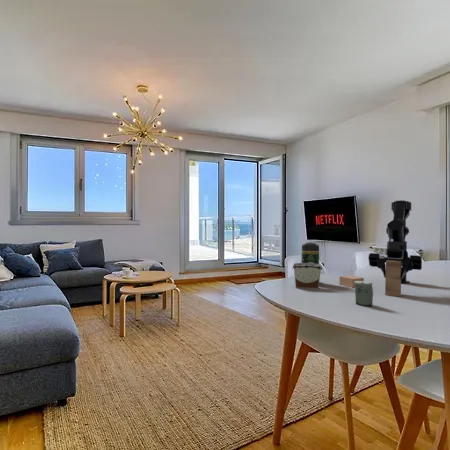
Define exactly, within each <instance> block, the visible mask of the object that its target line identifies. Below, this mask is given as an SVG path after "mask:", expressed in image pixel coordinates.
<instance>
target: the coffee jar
mask: <svg viewBox="0 0 450 450" xmlns="http://www.w3.org/2000/svg"><path fill="white" fill-rule="evenodd" d="M300 256H301V259H300V261H301V262H300V263H314V264H320V245H319V244H317V243H316V242H305V243H303V244H301V255H300Z"/></svg>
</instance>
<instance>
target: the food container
mask: <svg viewBox="0 0 450 450" xmlns="http://www.w3.org/2000/svg"><path fill="white" fill-rule="evenodd" d="M292 270H293V274H294V283H295V284H294V285H295V289H313V290H314V289H316V290H317V289H319V288H320V281H321V280H320V279H321V271H323V267H322V264H320V263H319V264H314V263H301V262H296V263H293V265H292Z"/></svg>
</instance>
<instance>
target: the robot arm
mask: <svg viewBox="0 0 450 450" xmlns="http://www.w3.org/2000/svg"><path fill="white" fill-rule="evenodd" d="M390 204H391V205H390V207H391V211H392V213H393V218H392V220H391V221H390V222H389V221H388V223H387V224H386V231H385V232H386V234H387V237H388V241H387V242H386V250H385V251H386V252H385V254H386V256H385V255H381V254H380V253H376V252H371V253H369V254H368V258H367V259H368V264H369V266H370V267H375V268H376V267H377V269H380V270H381V272H382V275H383V277H384V279H386V261H387V260H395V261H402V266H401V276H400V279H401V284H407V283H411V281H410V280H407V273H409V271H413V270H414V271H415V270H416V271H421V270H422V268H423V267H422V266H423V265H422V264H423V259H422V256H421V255H412V254H410V255H409V252H408V251H407V249H408V245H407V244H408V241H406V237H407V236H408V235H409V233H410V229H409V227H408V226H407V221H406V220H407V219H408V218H409V216H410V213H411V211H412V202H411V201H408V200H403V199H401V200H394V201H392V202H391V203H390Z"/></svg>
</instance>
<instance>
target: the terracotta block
mask: <svg viewBox="0 0 450 450" xmlns="http://www.w3.org/2000/svg"><path fill="white" fill-rule="evenodd" d="M364 279H365V278H364V277H361V276H355V275H342V276H339V285H340V286H342V285H343V287H347V288H351V287H352V288H353V289H355V284H354V282H355V281H364ZM364 282H365V281H364Z"/></svg>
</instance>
